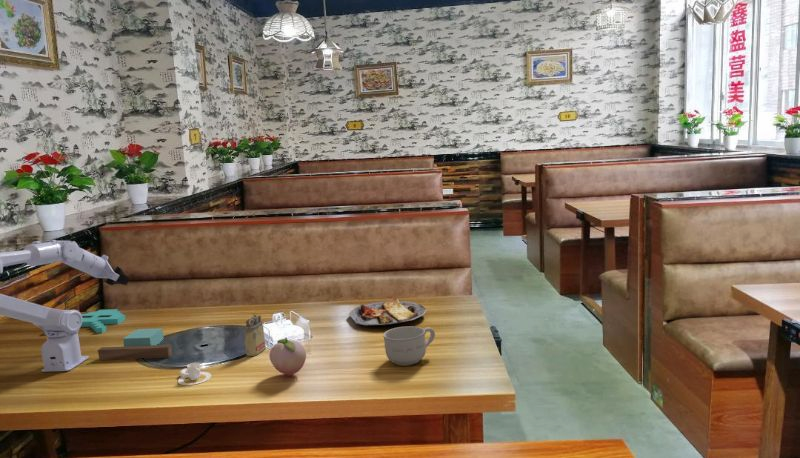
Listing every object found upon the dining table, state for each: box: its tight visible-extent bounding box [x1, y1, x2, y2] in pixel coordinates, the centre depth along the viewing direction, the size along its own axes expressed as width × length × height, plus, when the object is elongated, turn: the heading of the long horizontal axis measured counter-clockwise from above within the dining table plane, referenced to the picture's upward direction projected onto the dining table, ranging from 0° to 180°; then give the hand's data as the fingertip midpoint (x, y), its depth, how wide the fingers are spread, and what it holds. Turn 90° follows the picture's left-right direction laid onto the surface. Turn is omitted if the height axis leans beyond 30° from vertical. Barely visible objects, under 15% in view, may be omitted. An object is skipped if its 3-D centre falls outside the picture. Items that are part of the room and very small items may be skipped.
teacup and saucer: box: [177, 361, 212, 386], centre depth 149 cm, size 9×8×4 cm
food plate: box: [348, 297, 427, 326], centre depth 188 cm, size 25×23×4 cm
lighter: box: [243, 314, 267, 357], centre depth 164 cm, size 7×4×10 cm, turn 163°
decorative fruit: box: [268, 336, 307, 377], centre depth 146 cm, size 9×8×10 cm
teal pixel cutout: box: [43, 308, 126, 335], centre depth 200 cm, size 20×2×20 cm
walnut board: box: [97, 344, 172, 361], centre depth 166 cm, size 2×20×3 cm, turn 87°
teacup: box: [382, 325, 436, 367], centre depth 151 cm, size 14×11×8 cm
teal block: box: [122, 327, 165, 347], centre depth 175 cm, size 8×8×4 cm
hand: (119, 276), depth 182 cm, fingers open, 7 cm apart
